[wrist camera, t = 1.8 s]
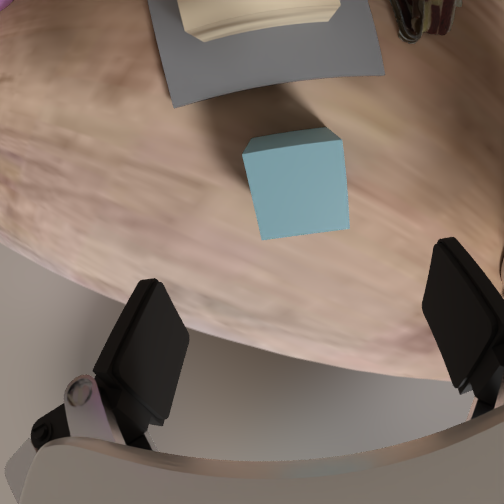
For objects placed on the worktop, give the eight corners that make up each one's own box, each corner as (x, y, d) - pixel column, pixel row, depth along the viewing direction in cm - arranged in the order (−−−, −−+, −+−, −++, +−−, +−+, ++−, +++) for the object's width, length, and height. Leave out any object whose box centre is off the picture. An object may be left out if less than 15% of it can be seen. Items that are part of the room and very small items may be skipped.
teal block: (334, 195, 23) (349, 228, 18) (266, 205, 24) (261, 240, 19) (326, 126, 20) (342, 139, 15) (251, 138, 21) (242, 154, 16)
